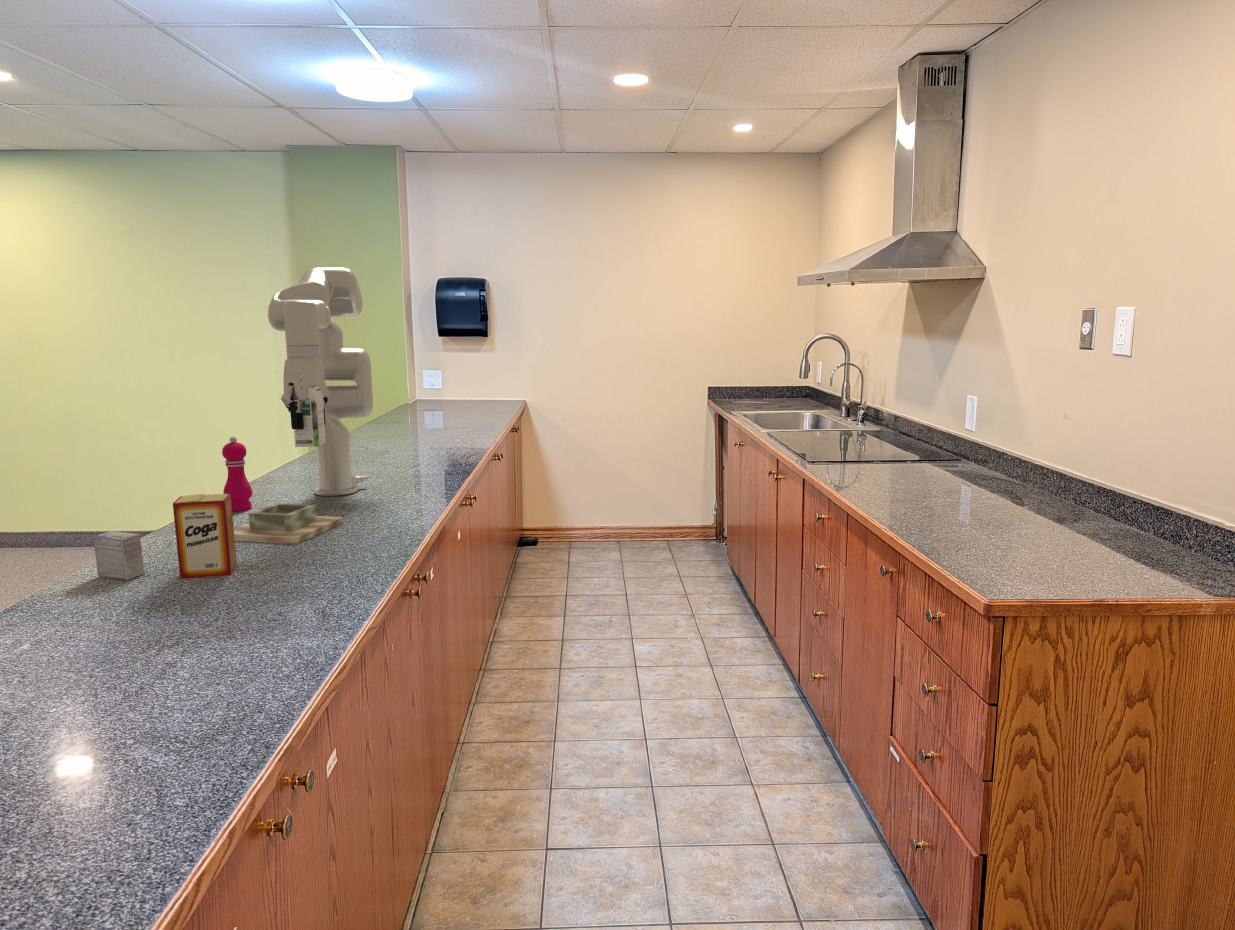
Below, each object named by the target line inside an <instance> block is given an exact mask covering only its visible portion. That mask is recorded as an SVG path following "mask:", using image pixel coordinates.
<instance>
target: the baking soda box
mask: <svg viewBox="0 0 1235 930" xmlns="http://www.w3.org/2000/svg"><path fill="white" fill-rule="evenodd" d="M172 509H173V521H174V528H175V537H176V538H175V540H176V549H177V559H178V571H179V578H180V579H183V580H184V579H195V578H206V577H207V578H208V577H220V576H222V577H223V576H231V575H232V574H233V572H235V569H236V567H238V563H237V552H236V540H234V528H235V527H234V520H233V511H232V506H231V495H230V494H223V493H219V494H218V493H216V494H205V493H200V494H189V495H181V496H179V497H177V499H176V500H175V501H174V502H172Z"/></svg>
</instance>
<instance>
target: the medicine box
mask: <svg viewBox="0 0 1235 930" xmlns="http://www.w3.org/2000/svg"><path fill="white" fill-rule="evenodd" d="M92 539H93V546H94V554H95V560H96V561H95V562H96V569H97V576H98V577H99V578H109V579H117V580H124V581H128V580H133V579H134V578H137V577H140V576H143V575H145V564H144V558H143V550H142V541H141V535H140V533H134V532H133V533H131V532H124V531H123V532H122V531H114V530H113V531H112V530H111V531H108V532H104V533H101V534H97V535H94V536H93V537H92Z"/></svg>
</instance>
